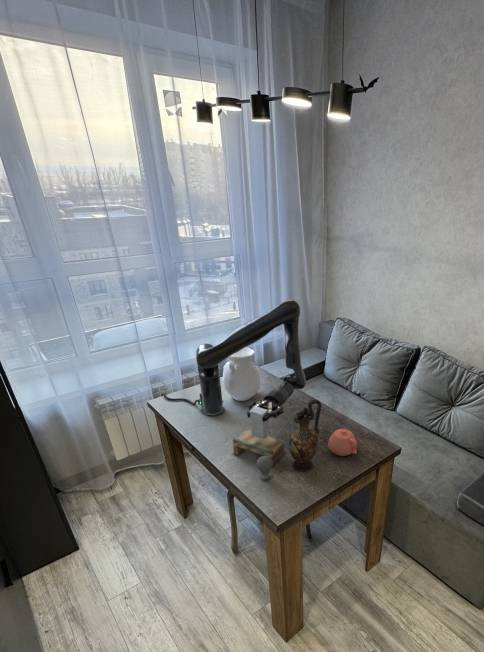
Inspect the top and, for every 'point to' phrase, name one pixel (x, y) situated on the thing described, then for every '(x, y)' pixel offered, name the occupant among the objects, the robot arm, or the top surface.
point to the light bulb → (265, 466)
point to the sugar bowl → (342, 442)
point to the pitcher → (241, 375)
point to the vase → (304, 437)
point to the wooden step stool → (259, 445)
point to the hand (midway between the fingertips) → (255, 417)
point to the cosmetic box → (259, 423)
